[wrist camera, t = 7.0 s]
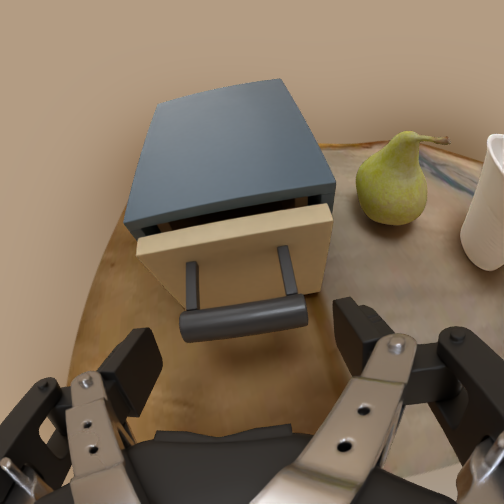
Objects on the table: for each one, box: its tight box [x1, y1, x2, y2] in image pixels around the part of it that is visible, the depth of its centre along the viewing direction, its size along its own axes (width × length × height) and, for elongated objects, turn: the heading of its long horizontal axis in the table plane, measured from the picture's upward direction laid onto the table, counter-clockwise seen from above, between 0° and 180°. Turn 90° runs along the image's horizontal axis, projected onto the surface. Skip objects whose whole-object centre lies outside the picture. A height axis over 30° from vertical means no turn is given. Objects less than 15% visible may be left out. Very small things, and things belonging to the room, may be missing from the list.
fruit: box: [356, 131, 451, 225], centre depth 20 cm, size 7×8×12 cm
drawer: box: [136, 196, 333, 343], centre depth 20 cm, size 18×10×9 cm, turn 6°
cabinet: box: [123, 79, 336, 242], centre depth 22 cm, size 15×12×11 cm
